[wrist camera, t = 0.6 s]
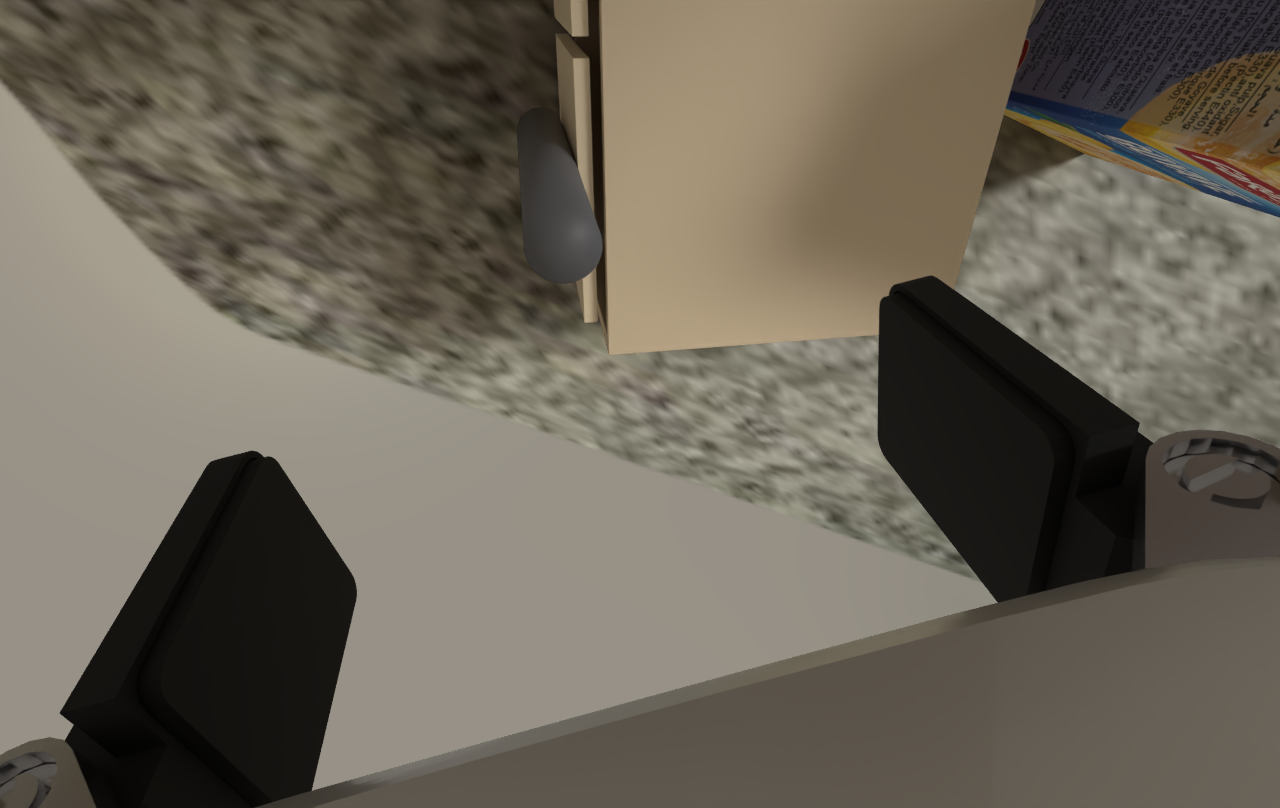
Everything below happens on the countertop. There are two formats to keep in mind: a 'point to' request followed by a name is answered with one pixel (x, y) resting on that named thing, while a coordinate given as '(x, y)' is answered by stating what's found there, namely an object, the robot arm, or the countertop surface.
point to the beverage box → (1161, 89)
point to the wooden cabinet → (786, 159)
